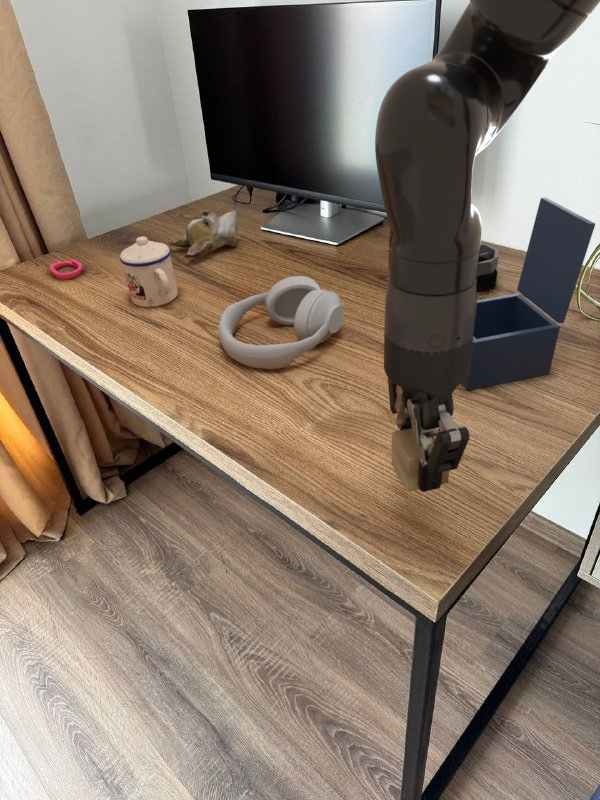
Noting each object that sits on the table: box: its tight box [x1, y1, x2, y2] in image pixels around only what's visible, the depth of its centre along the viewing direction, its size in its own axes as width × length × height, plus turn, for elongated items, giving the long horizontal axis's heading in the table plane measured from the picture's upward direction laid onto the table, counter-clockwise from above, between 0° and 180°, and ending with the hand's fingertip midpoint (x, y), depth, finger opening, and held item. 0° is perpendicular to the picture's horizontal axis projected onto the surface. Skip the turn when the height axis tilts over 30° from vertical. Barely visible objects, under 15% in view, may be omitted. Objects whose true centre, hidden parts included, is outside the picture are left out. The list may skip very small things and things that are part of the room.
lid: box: [516, 197, 596, 324], centre depth 79 cm, size 14×11×1 cm
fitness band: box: [49, 258, 85, 281], centre depth 123 cm, size 8×6×2 cm
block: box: [390, 428, 450, 493], centre depth 59 cm, size 4×4×4 cm
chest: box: [461, 292, 561, 391], centre depth 84 cm, size 13×11×8 cm
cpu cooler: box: [476, 242, 500, 292], centre depth 107 cm, size 10×6×10 cm
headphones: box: [217, 275, 345, 370], centre depth 94 cm, size 18×8×20 cm
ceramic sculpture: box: [167, 209, 239, 259], centre depth 125 cm, size 11×9×15 cm
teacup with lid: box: [119, 236, 178, 308], centre depth 107 cm, size 12×9×12 cm
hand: (418, 470), depth 60 cm, fingers closed on block, 4 cm apart
